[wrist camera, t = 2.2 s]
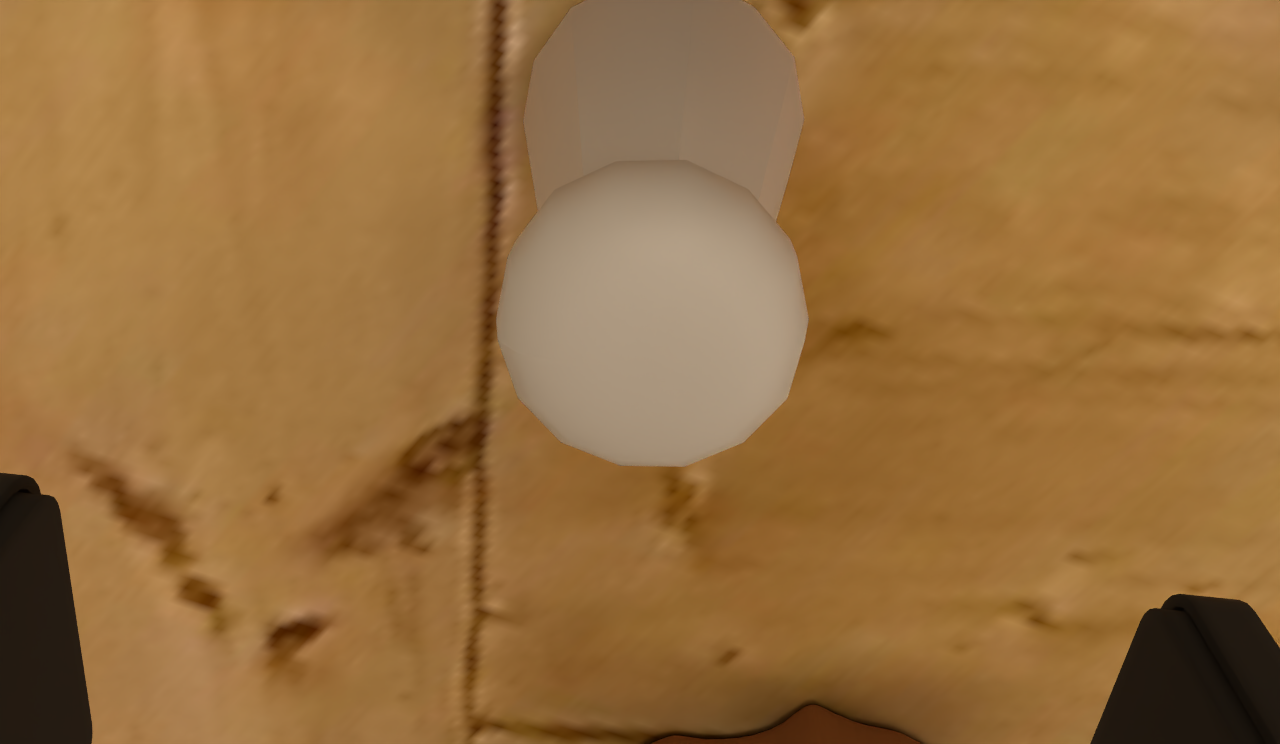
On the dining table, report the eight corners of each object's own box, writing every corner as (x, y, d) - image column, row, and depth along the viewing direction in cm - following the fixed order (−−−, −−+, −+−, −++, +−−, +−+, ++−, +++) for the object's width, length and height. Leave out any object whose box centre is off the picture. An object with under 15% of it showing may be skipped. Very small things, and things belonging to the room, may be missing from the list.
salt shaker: (643, -104, 25) (610, 42, 13) (846, 65, 26) (971, 323, 15) (488, 111, 27) (347, 390, 16) (683, 254, 29) (683, 603, 17)
